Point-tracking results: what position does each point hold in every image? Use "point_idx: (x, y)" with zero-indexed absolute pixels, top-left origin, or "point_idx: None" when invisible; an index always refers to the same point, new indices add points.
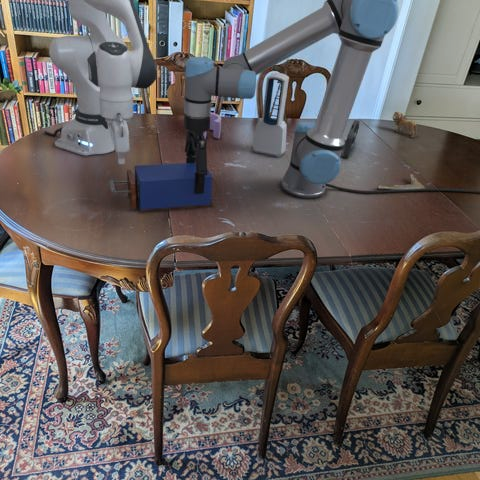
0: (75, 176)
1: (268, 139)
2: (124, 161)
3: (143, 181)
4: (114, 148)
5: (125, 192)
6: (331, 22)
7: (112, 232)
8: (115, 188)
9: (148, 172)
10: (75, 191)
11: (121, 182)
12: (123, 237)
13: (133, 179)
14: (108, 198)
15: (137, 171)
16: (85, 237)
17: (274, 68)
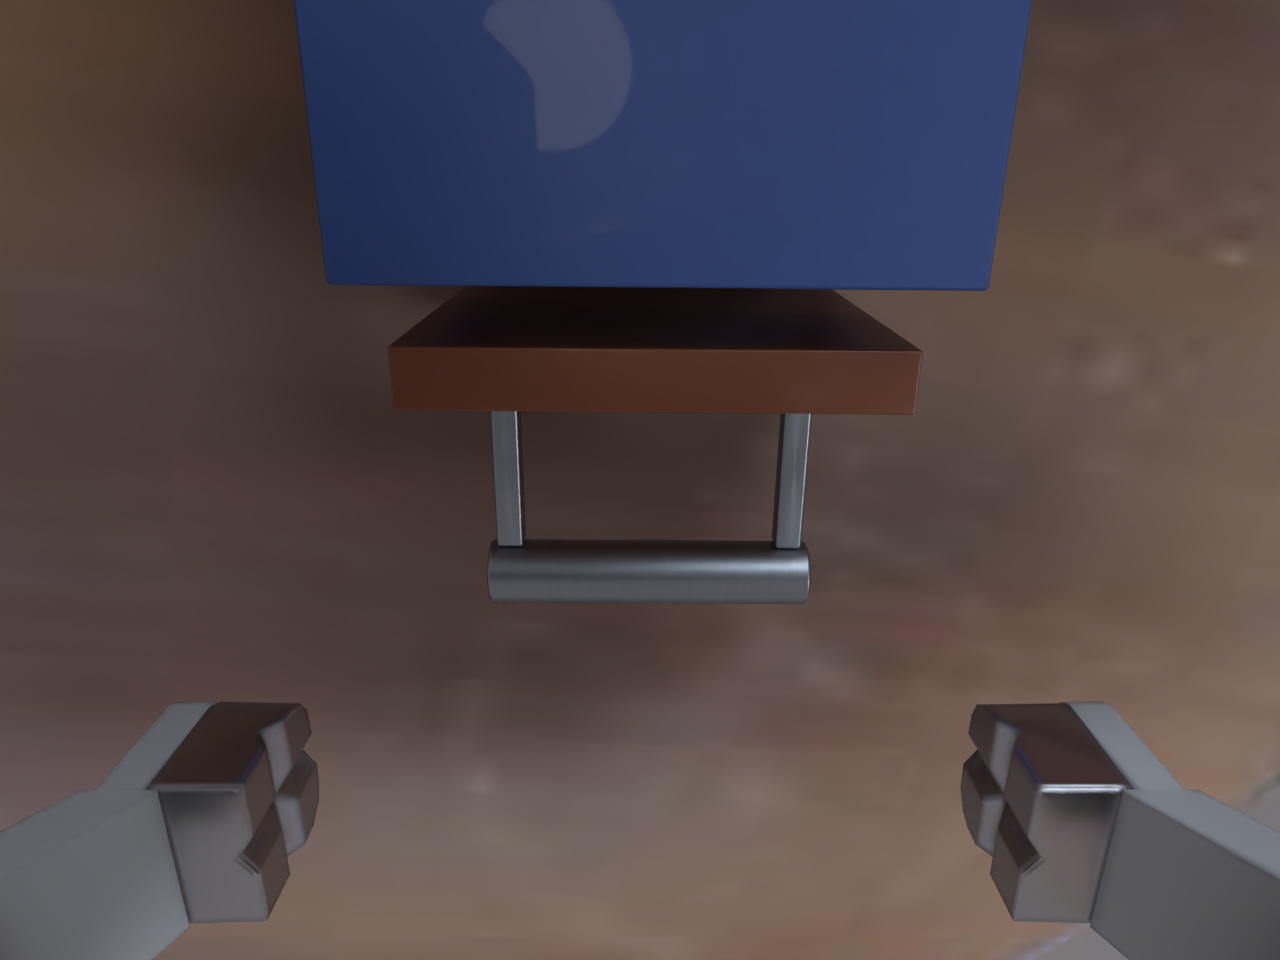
0: (10, 754)
1: None
2: (1125, 732)
3: (995, 223)
4: (291, 847)
5: (807, 440)
6: None
7: (1130, 541)
8: (702, 549)
9: (657, 58)
10: (329, 765)
11: (522, 456)
12: (1248, 464)
13: (764, 356)
14: (493, 514)
15: (585, 268)
16: None
17: None
